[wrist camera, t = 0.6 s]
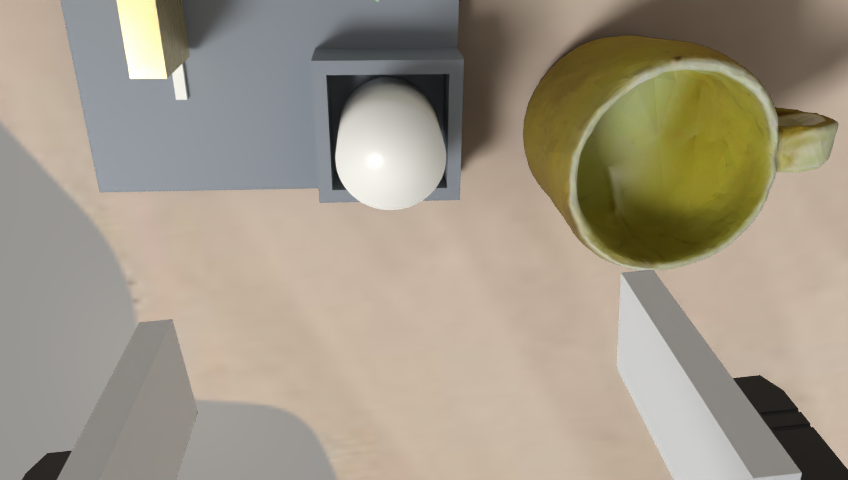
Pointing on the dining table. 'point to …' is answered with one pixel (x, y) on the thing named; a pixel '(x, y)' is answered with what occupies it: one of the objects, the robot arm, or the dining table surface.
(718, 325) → the dining table surface
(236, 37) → the board
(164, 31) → the grey and tan piece
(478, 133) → the dining table surface
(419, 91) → the button
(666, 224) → the mug
